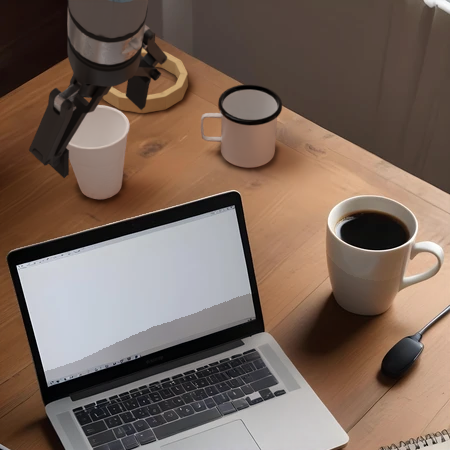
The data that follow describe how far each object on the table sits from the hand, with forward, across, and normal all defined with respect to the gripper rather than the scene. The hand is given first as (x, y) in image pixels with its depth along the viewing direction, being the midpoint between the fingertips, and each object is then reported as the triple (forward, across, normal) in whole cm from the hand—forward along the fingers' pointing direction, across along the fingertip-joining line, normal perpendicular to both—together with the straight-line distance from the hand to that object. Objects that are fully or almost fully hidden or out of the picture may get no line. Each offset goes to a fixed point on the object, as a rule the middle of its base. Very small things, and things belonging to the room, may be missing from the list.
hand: (97, 134), depth 104 cm
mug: (+21, +22, -10) cm, 32 cm away
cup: (+20, +2, 0) cm, 20 cm away
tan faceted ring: (+30, +24, +11) cm, 40 cm away
